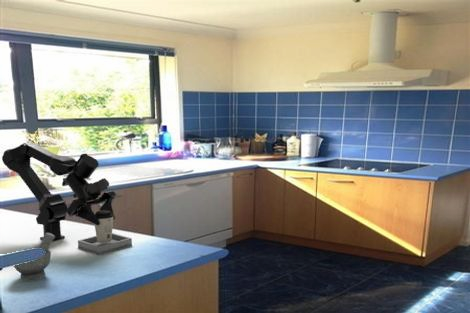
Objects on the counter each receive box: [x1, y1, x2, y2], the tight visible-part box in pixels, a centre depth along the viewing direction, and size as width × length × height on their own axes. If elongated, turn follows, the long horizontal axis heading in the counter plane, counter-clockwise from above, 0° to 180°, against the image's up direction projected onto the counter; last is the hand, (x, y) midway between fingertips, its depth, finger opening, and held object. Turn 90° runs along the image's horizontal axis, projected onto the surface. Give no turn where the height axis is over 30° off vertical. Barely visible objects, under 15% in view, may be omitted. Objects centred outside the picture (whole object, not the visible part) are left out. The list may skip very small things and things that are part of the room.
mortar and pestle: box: [13, 233, 55, 282], centre depth 123 cm, size 11×9×12 cm
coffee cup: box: [94, 210, 115, 243], centre depth 150 cm, size 7×7×10 cm
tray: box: [77, 232, 133, 256], centre depth 150 cm, size 13×13×2 cm
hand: (106, 221), depth 149 cm, fingers closed on coffee cup, 7 cm apart
